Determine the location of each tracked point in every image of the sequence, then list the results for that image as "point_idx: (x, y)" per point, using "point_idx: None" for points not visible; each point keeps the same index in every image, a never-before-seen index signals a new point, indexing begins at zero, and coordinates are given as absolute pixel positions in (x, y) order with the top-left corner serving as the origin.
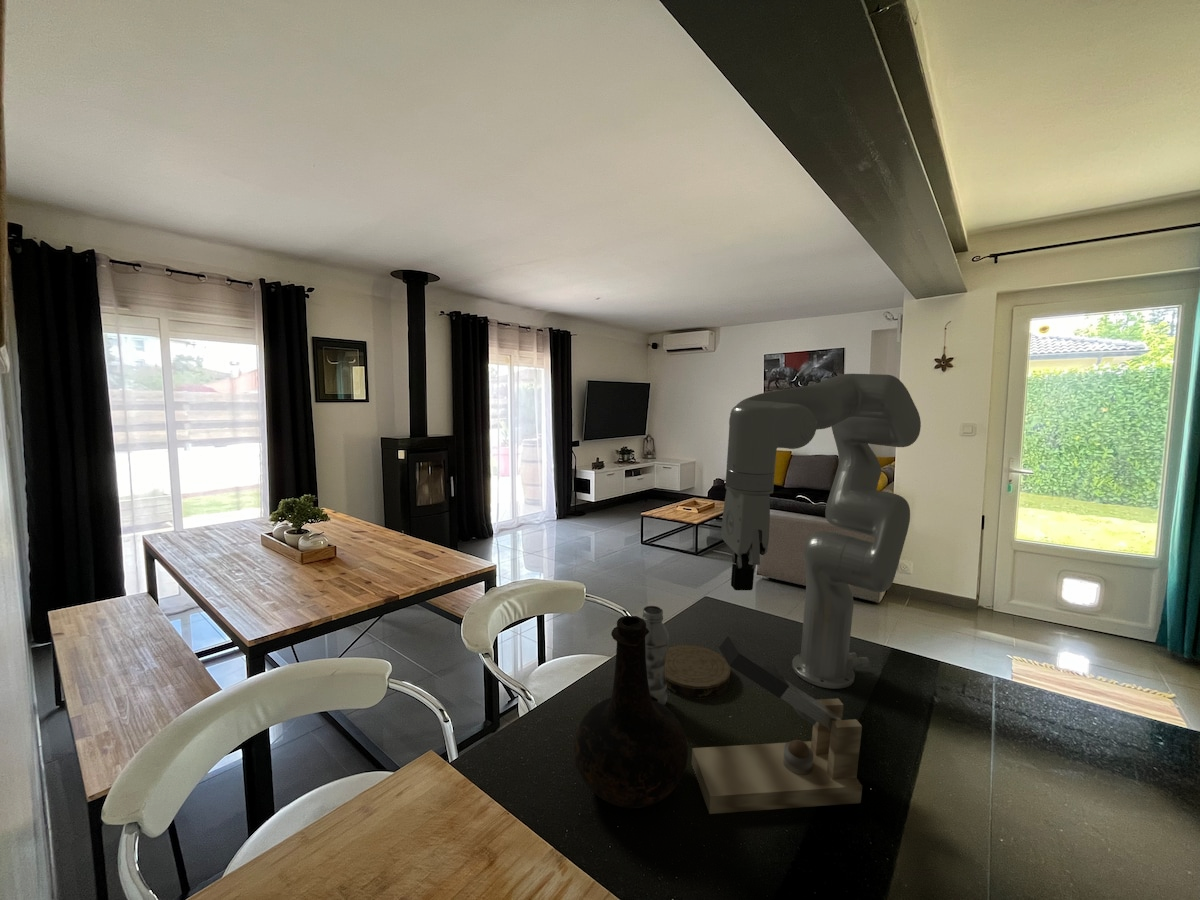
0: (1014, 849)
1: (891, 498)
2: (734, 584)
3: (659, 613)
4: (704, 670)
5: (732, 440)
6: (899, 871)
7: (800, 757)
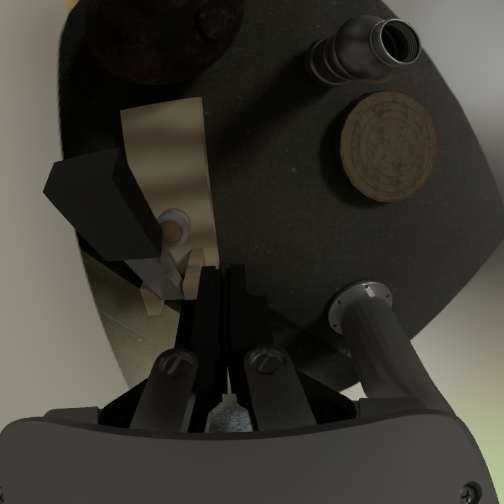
0: (133, 341)
1: None
2: (200, 279)
3: (383, 49)
4: (377, 160)
5: None
6: (95, 262)
7: None
